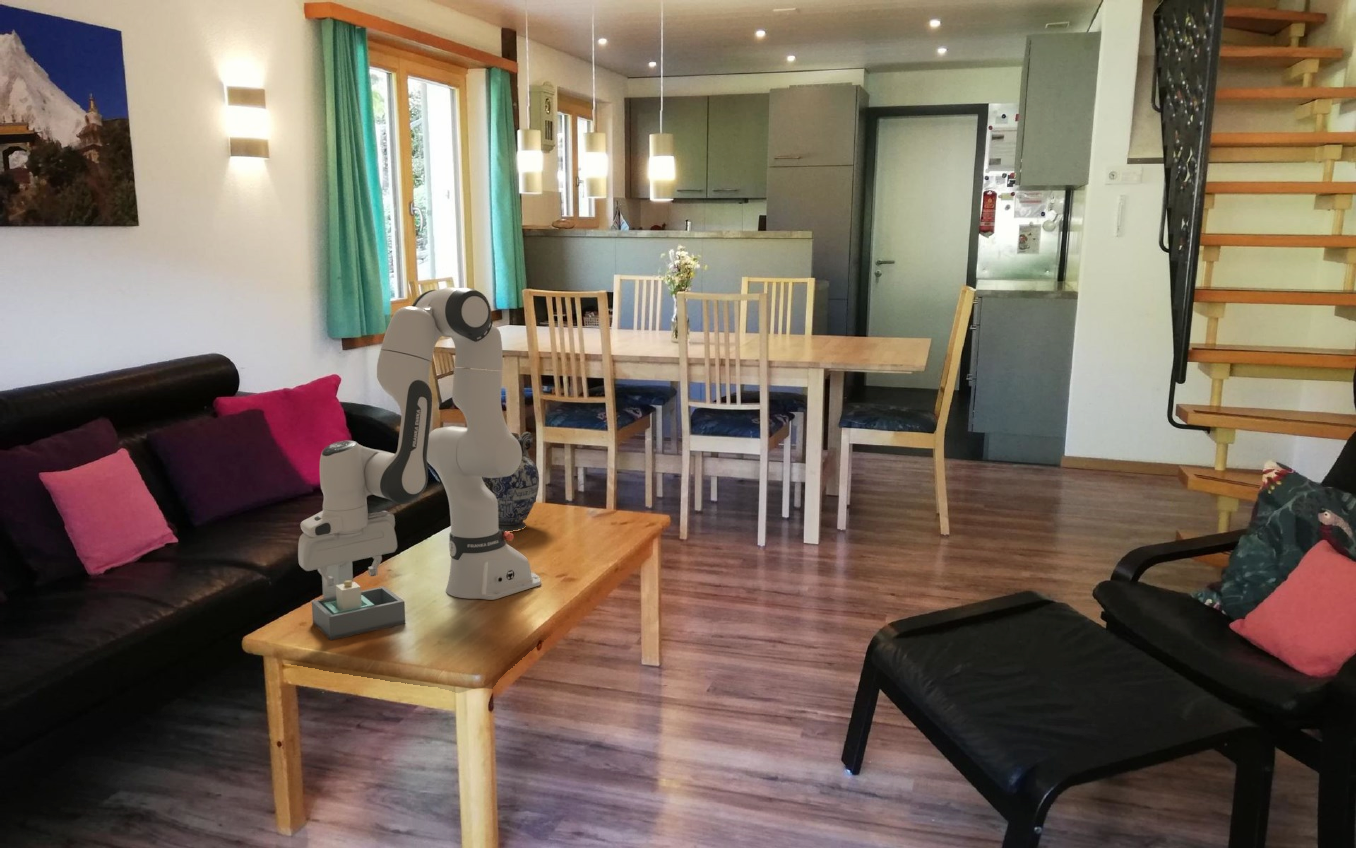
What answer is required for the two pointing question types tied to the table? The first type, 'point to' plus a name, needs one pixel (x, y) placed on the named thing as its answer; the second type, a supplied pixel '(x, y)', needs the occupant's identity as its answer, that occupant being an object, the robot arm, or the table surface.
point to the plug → (348, 595)
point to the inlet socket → (333, 609)
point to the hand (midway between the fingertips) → (351, 580)
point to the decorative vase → (516, 489)
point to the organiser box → (360, 614)
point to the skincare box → (337, 577)
